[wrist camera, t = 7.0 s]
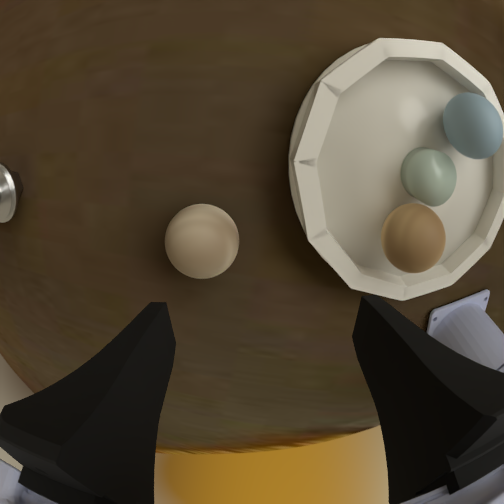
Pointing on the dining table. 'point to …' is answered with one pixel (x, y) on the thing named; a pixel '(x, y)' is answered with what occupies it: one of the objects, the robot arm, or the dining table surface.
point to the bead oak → (413, 238)
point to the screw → (9, 192)
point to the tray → (392, 163)
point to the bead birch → (201, 241)
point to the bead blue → (473, 125)
